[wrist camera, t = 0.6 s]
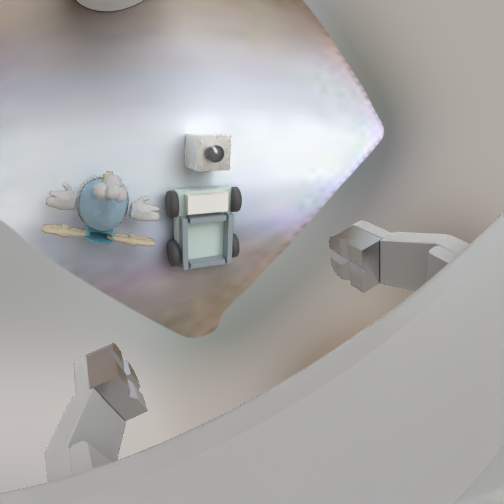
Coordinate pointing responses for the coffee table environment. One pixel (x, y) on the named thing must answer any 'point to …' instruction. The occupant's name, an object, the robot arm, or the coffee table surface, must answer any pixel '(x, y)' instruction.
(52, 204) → the toy figure
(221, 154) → the cube with round knob
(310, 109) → the coffee table surface
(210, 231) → the chassis
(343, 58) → the coffee table surface
